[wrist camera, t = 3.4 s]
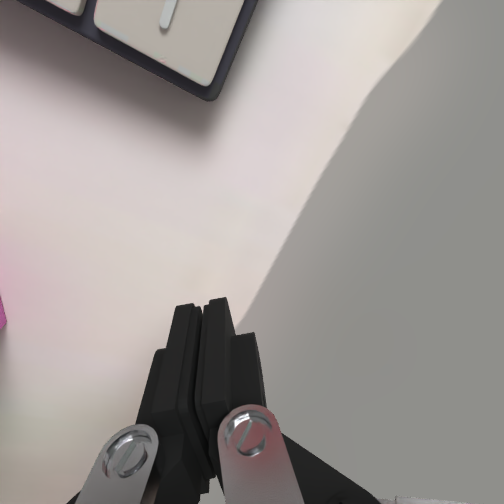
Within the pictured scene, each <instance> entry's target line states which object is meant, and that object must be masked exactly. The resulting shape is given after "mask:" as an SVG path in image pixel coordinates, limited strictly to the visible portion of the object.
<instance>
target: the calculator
mask: <svg viewBox="0 0 504 504" xmlns="http://www.w3.org/2000/svg"><path fill="white" fill-rule="evenodd" d="M17 1H19V2H21V3H22V4H24V5H26V6H28V7H30V8H32V9H34V10H36V11H37V12H39V13H41V14H43V15H45V16H47V17H49V18H51V19H52V20H54V21H56V22H58V23H60V24H62V25H64V26H66V27H67V28H69V29H71V30H73V31H75V32H77V33H79V34H81V35H83V36H84V37H86V38H88V39H90V40H92V41H94V42H96V43H98V44H99V45H101V46H103V47H105V48H107V49H109V50H111V51H113V52H114V53H116V54H118V55H120V56H122V57H124V58H126V59H128V60H129V61H131V62H133V63H135V64H137V65H139V66H141V67H143V68H145V69H146V70H148V71H150V72H152V73H154V74H156V75H158V76H160V77H161V78H163V79H165V80H167V81H169V82H171V83H173V84H175V85H176V86H178V87H180V88H182V89H184V90H186V91H188V92H190V93H191V94H193V95H195V96H197V97H199V98H201V99H203V100H205V101H214V100H215V99H216V98H217V97H218V95H219V93H220V91H221V89H222V87H223V84H224V82H225V79H226V77H227V74H228V72H229V70H230V67H231V65H232V62H233V60H234V57H235V55H236V53H237V50H238V48H239V45H240V43H241V40H242V38H243V36H244V33H245V31H246V28H247V26H248V24H249V21H250V19H251V16H252V14H253V11H254V9H255V7H256V4H257V2H258V0H17Z"/></svg>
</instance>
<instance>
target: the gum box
mask: <svg viewBox="0 0 504 504" xmlns="http://www.w3.org/2000/svg"><path fill="white" fill-rule="evenodd" d="M5 323H6V317H5V313H4V310H3V306H2V302H1V299H0V329H1V328H2V327H3V326H4V325H5Z"/></svg>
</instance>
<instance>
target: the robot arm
mask: <svg viewBox="0 0 504 504" xmlns="http://www.w3.org/2000/svg"><path fill="white" fill-rule="evenodd" d="M216 475H217V478H218V480H219V483H220V486H221V488H222V491H223V494H224V496H225V502H226V504H472V503H462V502H451V501H442V500H431V499H421V498H411V497H399V496H396V497H395V500H387V499H377V498H375V497H373V495H371V494H370V493H369V492H368V491H366V490H365V489H363V488H362V487H360V486H359V485H357V484H356V483H354V482H353V481H352V480H350V479H349V478H347V477H346V476H344V475H343V474H341V473H339V472H338V471H337V470H335V469H334V468H332V467H331V466H329V465H328V464H326V463H325V462H324V461H322V460H321V459H319V458H318V457H316V456H315V455H313V454H312V453H310V452H309V451H307V450H306V449H305V448H303V447H301V446H300V445H299V444H297V443H295V442H294V441H293V440H291V439H290V438H288V437H287V436H285V435H284V434H282V433H281V431H280V428H279V425H278V422H277V420H276V418H275V416H274V414H272V412H270V411H269V410H268V409H267V407H266V399H265V391H264V383H263V375H262V369H261V362H260V357H259V351H258V346H257V342H256V337H255V333H254V332H252V333H247V334H241V335H236V334H235V330H234V326H233V322H232V318H231V314H230V310H229V305H228V301H227V298H226V297H223V298H218V299H212V300H210V301H209V305H204V310H203V313H202V310H201V307H200V306H198V307H195V305H194V304H193V303H190V304H185V305H179V306H176V308H175V312H174V316H173V320H172V325H171V329H170V333H169V337H168V341H167V346H166V348H164V349H158V350H157V351H156V352H155V355H154V358H153V362H152V365H151V369H150V373H149V376H148V380H147V384H146V387H145V391H144V394H143V398H142V402H141V405H140V409H139V413H138V416H137V420H136V424H135V425H131V426H129V427H126V428H124V429H122V430H120V431H119V432H118V433H116V434H115V435H114V436H112V437H111V439H110V440H109V441H108V442H107V443H106V444H105V445H104V447H103V448H102V450H101V452H100V453H99V455H98V457H97V459H96V461H95V463H94V465H93V467H92V469H91V471H90V473H89V475H88V478H87V480H86V482H85V484H84V486H83V488H82V490H81V491H80V492H79V493H77V494H76V495H75V496H74V497H73V498H72V499H71V500H70V501H69V502H68V503H67V504H198V502H199V501H200V494H204V493H209V481H210V479H211V478H215V477H216Z"/></svg>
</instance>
